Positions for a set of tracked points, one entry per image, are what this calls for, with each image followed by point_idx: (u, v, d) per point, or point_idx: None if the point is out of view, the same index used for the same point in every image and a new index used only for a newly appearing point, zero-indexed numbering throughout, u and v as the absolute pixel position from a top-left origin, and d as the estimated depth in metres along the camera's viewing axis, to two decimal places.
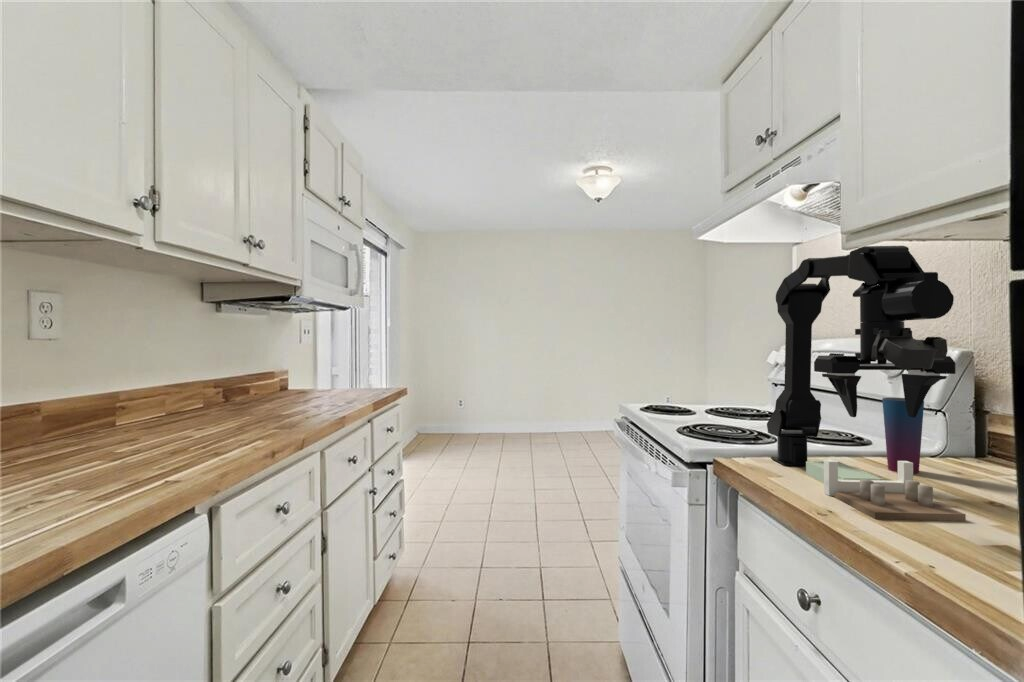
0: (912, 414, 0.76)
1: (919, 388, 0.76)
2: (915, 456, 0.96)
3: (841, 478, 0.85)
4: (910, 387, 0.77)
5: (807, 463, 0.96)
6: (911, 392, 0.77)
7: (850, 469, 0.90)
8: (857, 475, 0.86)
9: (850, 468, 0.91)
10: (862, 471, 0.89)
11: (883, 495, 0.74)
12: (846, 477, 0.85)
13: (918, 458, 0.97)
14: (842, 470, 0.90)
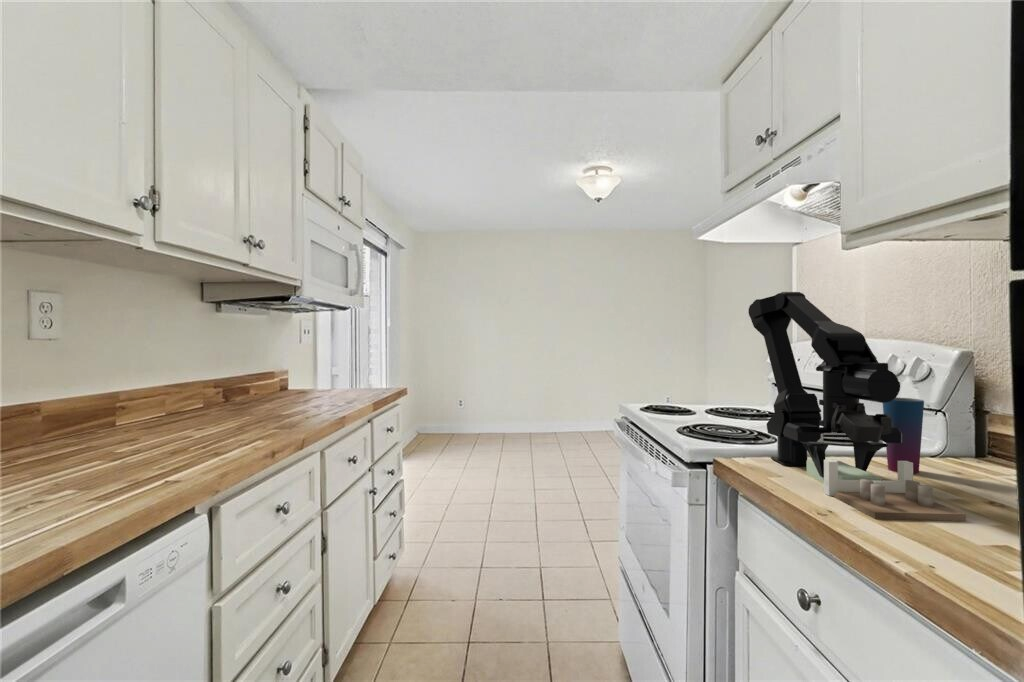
0: None
1: (865, 453, 0.89)
2: (915, 456, 0.96)
3: (840, 477, 0.85)
4: (859, 451, 0.91)
5: (807, 462, 0.96)
6: (859, 456, 0.90)
7: (850, 468, 0.90)
8: (857, 474, 0.86)
9: (850, 467, 0.91)
10: (862, 470, 0.89)
11: (883, 495, 0.74)
12: (845, 475, 0.85)
13: (918, 458, 0.97)
14: (842, 469, 0.90)
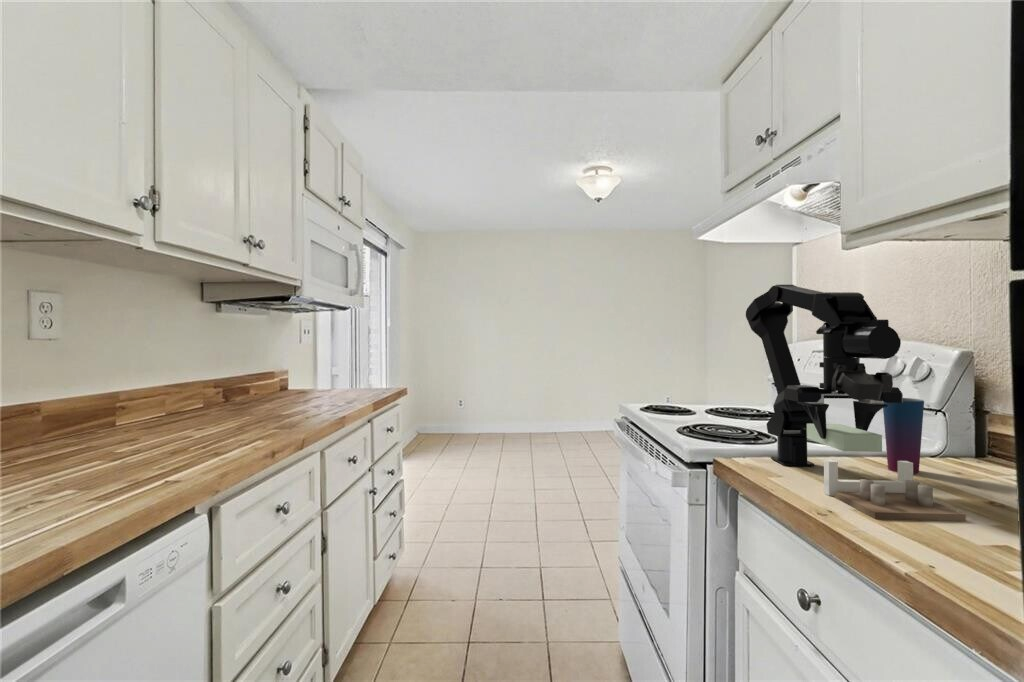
0: None
1: (866, 414, 0.89)
2: (915, 456, 0.96)
3: (841, 435, 0.85)
4: (859, 413, 0.91)
5: (808, 425, 0.96)
6: (860, 417, 0.90)
7: (851, 429, 0.90)
8: (858, 433, 0.86)
9: (851, 428, 0.91)
10: (863, 430, 0.89)
11: (883, 495, 0.74)
12: (846, 434, 0.85)
13: (918, 458, 0.97)
14: (843, 429, 0.89)
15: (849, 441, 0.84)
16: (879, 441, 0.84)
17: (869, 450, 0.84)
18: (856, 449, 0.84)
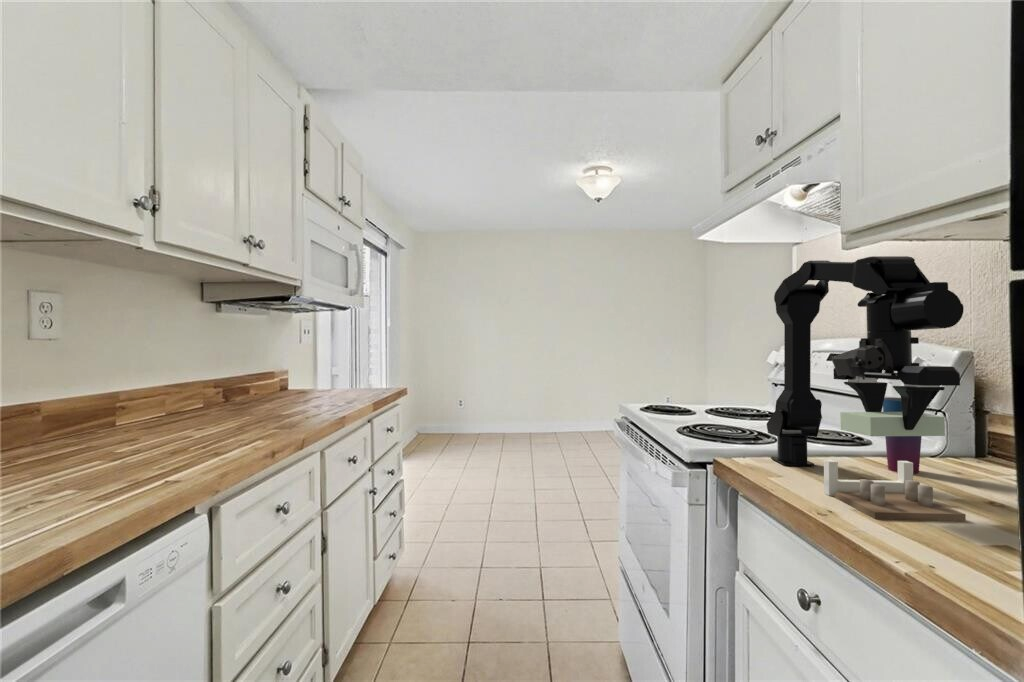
0: None
1: None
2: (915, 456, 0.96)
3: None
4: None
5: None
6: None
7: (899, 415, 0.76)
8: (868, 414, 0.77)
9: None
10: (898, 416, 0.74)
11: (883, 495, 0.74)
12: (848, 412, 0.80)
13: (918, 458, 0.97)
14: (884, 414, 0.78)
15: (844, 419, 0.80)
16: (868, 424, 0.74)
17: (860, 432, 0.76)
18: (850, 429, 0.78)
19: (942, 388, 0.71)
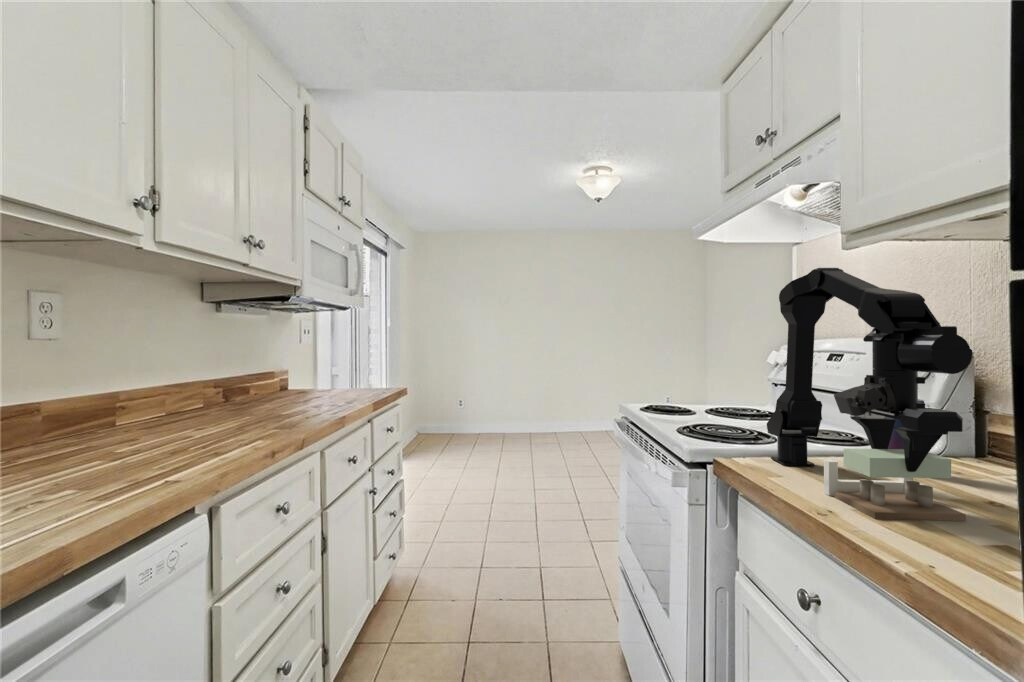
0: None
1: None
2: None
3: None
4: None
5: None
6: None
7: (903, 456, 0.75)
8: (870, 453, 0.76)
9: None
10: (900, 458, 0.73)
11: (883, 495, 0.74)
12: (851, 449, 0.79)
13: None
14: (888, 453, 0.77)
15: (847, 456, 0.79)
16: (867, 464, 0.74)
17: (860, 471, 0.76)
18: (851, 467, 0.78)
19: (945, 432, 0.69)
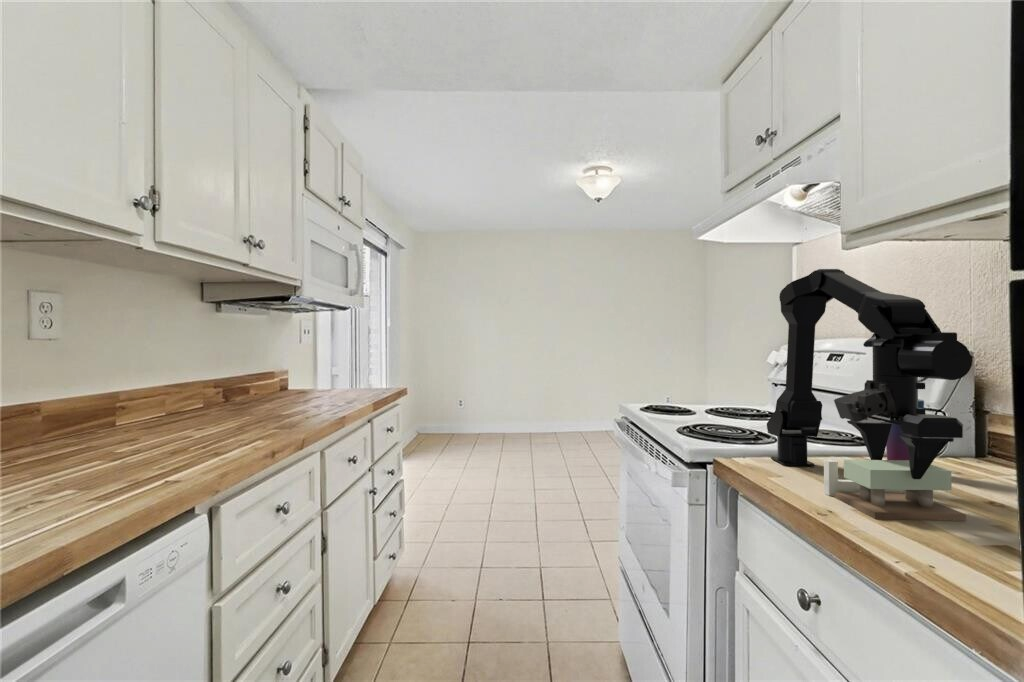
0: None
1: None
2: None
3: None
4: None
5: None
6: None
7: (903, 467, 0.75)
8: (870, 465, 0.76)
9: None
10: (901, 470, 0.73)
11: (883, 495, 0.74)
12: (851, 461, 0.79)
13: None
14: (888, 464, 0.77)
15: (847, 468, 0.79)
16: (868, 476, 0.74)
17: (861, 483, 0.76)
18: (852, 478, 0.78)
19: (951, 439, 0.68)
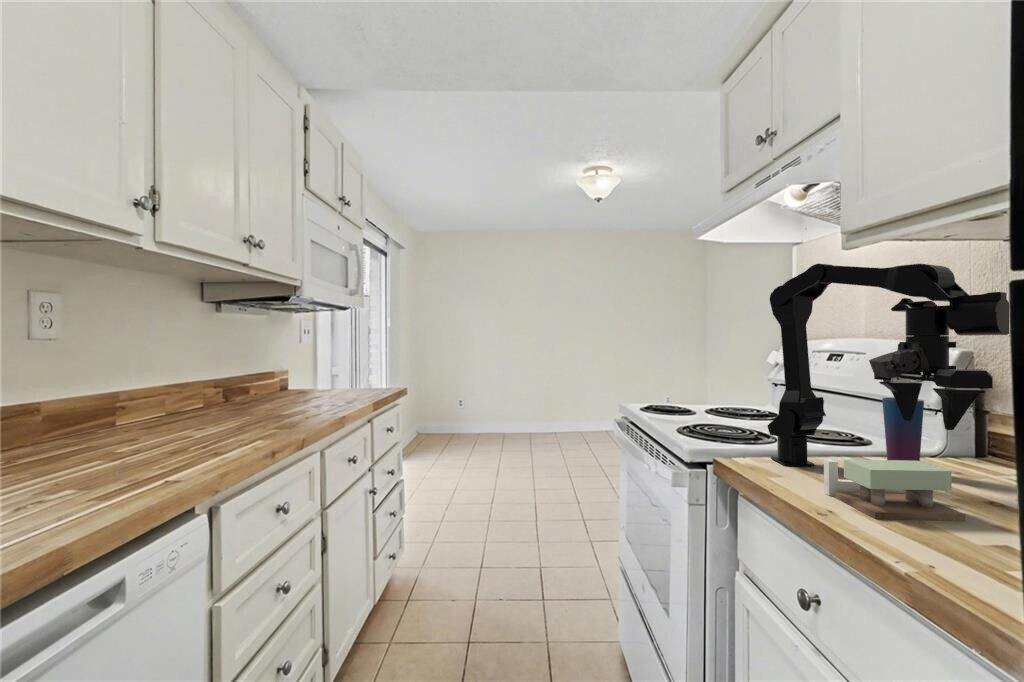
0: None
1: None
2: (915, 456, 0.96)
3: None
4: None
5: None
6: None
7: (903, 467, 0.75)
8: (870, 465, 0.76)
9: (910, 468, 0.74)
10: (901, 470, 0.73)
11: (883, 495, 0.74)
12: (851, 461, 0.79)
13: (918, 458, 0.97)
14: (888, 464, 0.77)
15: (847, 468, 0.79)
16: (868, 476, 0.74)
17: (861, 483, 0.76)
18: (852, 478, 0.78)
19: (982, 391, 0.74)
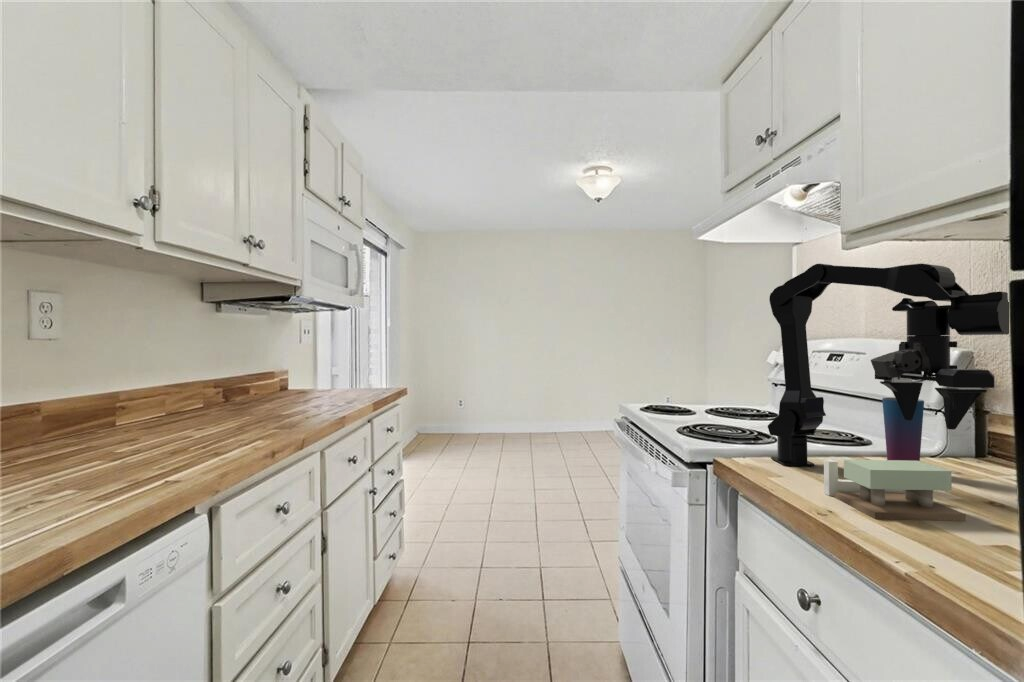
0: None
1: None
2: (915, 456, 0.96)
3: None
4: None
5: None
6: None
7: (903, 467, 0.75)
8: (870, 465, 0.76)
9: (910, 468, 0.74)
10: (901, 470, 0.73)
11: (883, 495, 0.74)
12: (851, 461, 0.79)
13: (918, 458, 0.97)
14: (888, 464, 0.77)
15: (847, 468, 0.79)
16: (868, 476, 0.74)
17: (861, 483, 0.76)
18: (852, 478, 0.78)
19: (984, 390, 0.74)
